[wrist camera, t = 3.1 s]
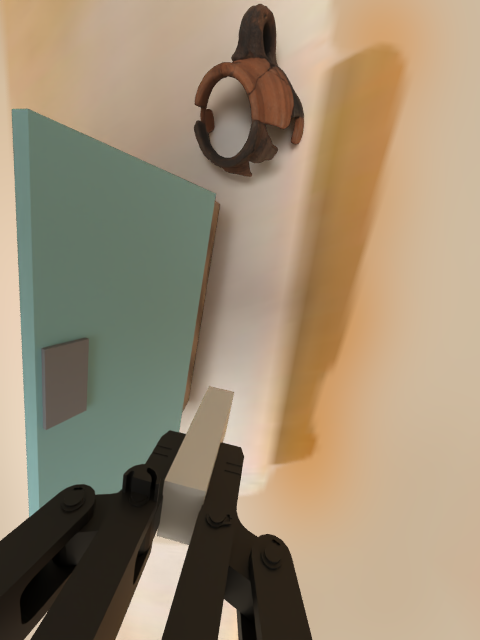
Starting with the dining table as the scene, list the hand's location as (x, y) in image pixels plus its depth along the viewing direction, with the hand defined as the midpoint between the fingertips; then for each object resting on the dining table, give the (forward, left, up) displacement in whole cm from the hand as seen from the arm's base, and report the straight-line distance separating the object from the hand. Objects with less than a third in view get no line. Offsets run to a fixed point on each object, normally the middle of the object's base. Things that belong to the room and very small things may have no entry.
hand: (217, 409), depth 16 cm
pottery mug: (-22, -4, -19) cm, 29 cm away
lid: (0, -8, -5) cm, 10 cm away
